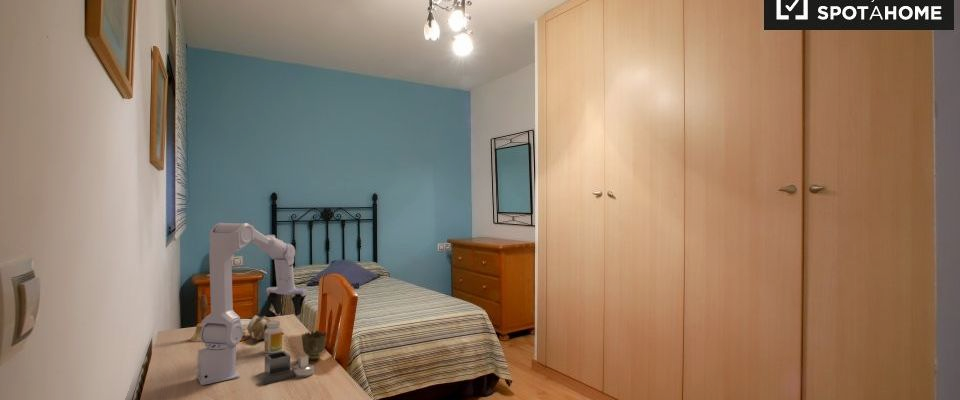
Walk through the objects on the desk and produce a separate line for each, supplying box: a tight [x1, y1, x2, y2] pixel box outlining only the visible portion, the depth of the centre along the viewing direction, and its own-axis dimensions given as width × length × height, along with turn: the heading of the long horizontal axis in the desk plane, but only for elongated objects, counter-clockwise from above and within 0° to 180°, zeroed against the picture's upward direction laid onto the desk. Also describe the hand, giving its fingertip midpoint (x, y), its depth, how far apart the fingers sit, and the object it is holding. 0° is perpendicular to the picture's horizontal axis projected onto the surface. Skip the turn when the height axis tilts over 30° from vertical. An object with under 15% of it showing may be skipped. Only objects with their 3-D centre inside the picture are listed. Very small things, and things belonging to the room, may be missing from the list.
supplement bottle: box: [264, 320, 283, 354], centre depth 154 cm, size 5×5×10 cm
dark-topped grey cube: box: [264, 350, 291, 374], centre depth 135 cm, size 6×6×5 cm
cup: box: [301, 330, 327, 361], centre depth 147 cm, size 8×7×8 cm
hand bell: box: [189, 294, 209, 343], centre depth 167 cm, size 8×8×16 cm
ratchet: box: [260, 354, 315, 386], centre depth 131 cm, size 14×6×5 cm, turn 129°
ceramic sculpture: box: [246, 314, 285, 342], centre depth 169 cm, size 11×9×15 cm
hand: (288, 313), depth 162 cm, fingers open, 7 cm apart
